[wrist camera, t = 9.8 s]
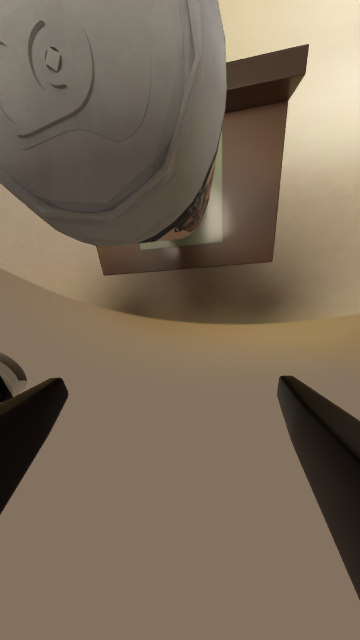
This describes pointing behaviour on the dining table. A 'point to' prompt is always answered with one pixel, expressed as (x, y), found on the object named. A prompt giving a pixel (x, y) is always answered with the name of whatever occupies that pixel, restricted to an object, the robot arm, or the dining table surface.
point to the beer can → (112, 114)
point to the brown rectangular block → (233, 175)
